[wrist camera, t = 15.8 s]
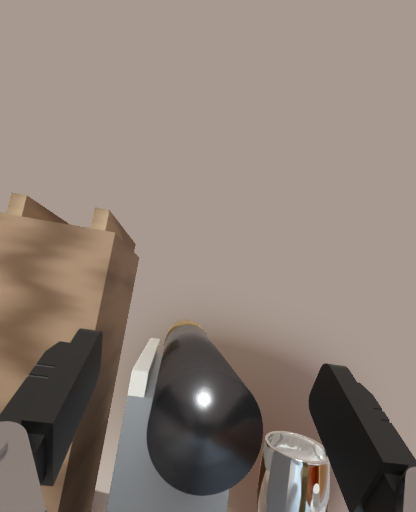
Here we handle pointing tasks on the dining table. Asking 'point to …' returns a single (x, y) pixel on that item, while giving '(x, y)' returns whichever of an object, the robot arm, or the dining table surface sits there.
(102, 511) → the dining table surface
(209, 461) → the black gold-banded rod
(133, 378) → the grey magazine holder
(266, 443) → the beer glass
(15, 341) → the tall stand
